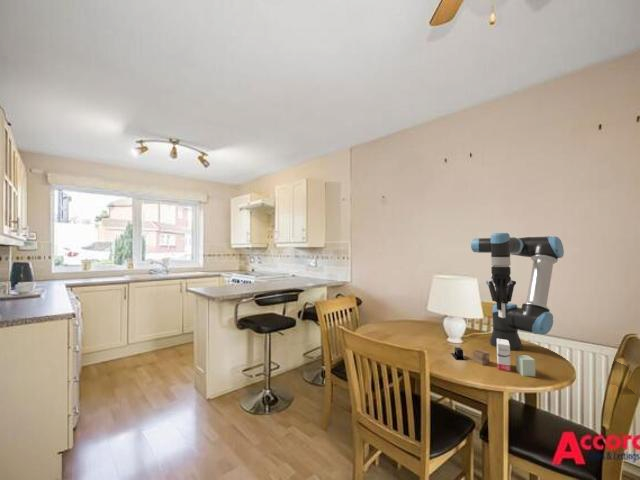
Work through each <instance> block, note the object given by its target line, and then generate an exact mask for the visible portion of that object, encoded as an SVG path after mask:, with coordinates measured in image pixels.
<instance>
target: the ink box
mask: <svg viewBox="0 0 640 480" xmlns="http://www.w3.org/2000/svg"><path fill="white" fill-rule="evenodd" d="M496 364H497V369H498V371H499V370H501V371H506V372H511V371H512V369H511V367H512V366H511V350H510V344H509V341H508V340H504V339H497V347H496Z"/></svg>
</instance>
